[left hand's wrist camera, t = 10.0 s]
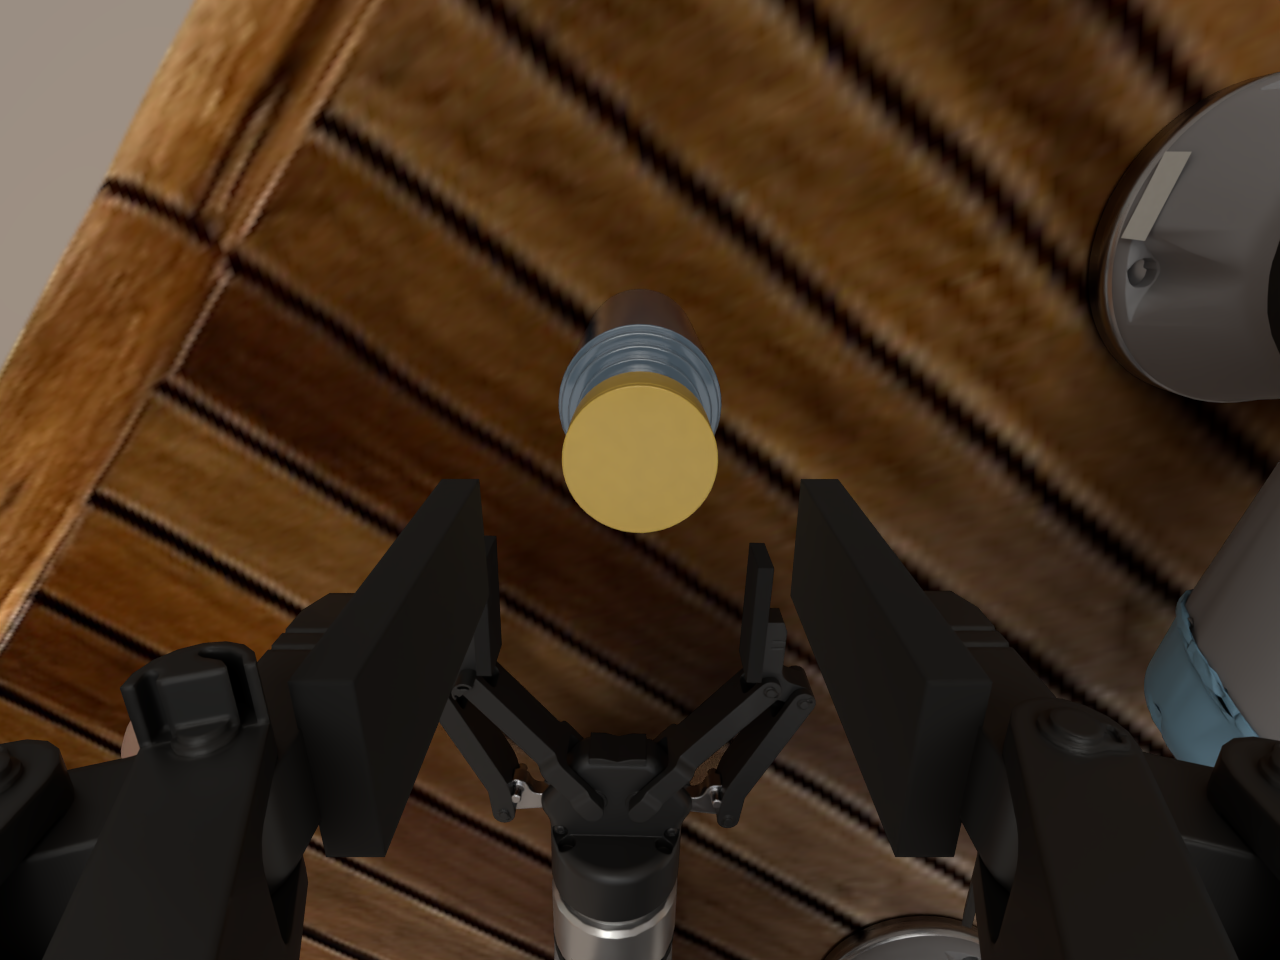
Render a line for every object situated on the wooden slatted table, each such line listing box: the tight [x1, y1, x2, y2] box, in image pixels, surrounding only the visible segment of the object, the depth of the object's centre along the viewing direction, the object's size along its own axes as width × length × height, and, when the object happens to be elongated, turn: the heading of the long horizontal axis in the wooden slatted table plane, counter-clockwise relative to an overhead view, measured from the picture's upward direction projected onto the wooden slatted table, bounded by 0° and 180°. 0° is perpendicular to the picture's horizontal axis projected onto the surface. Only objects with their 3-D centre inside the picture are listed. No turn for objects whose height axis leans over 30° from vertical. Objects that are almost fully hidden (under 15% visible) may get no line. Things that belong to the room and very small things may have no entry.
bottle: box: [559, 289, 721, 435], centre depth 28 cm, size 6×6×18 cm
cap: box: [562, 371, 718, 533], centre depth 20 cm, size 4×4×2 cm
